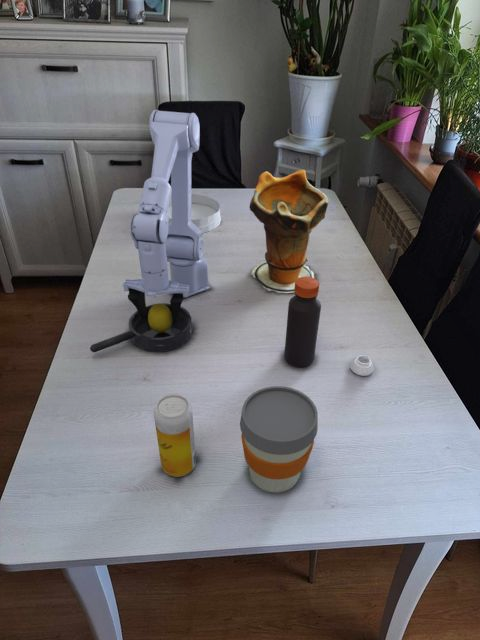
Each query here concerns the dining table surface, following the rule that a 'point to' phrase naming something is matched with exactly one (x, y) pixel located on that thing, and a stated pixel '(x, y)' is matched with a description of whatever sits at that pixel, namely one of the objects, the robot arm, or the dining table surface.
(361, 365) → the lidless jar
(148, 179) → the robot arm
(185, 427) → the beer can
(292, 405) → the reusable coffee cup
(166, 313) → the lemon
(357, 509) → the dining table surface
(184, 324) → the pan
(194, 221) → the dish
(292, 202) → the decorative vase
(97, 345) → the pan handle
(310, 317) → the bottle
